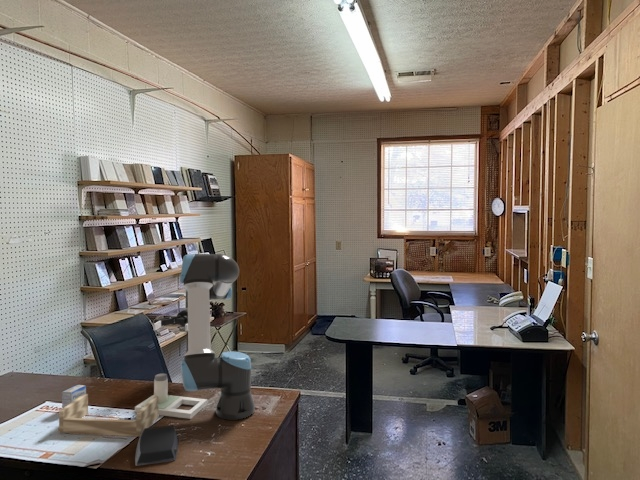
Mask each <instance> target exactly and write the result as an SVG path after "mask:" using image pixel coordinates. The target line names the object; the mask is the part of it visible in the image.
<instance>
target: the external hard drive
mask: <svg viewBox="0 0 640 480" xmlns="http://www.w3.org/2000/svg"><path fill="white" fill-rule="evenodd" d="M177 433H178V432H177V430H176V428H175V426H174V425H166V426H156V427H155V426H153V427H149V428H144V429H143V431H142V433H141V435H140V436H139V439H138V442H137V444H136V448H135V455H134V463H135V466H137V467H139V466H146V465H151V464H153V465H155V464H159V463H167V462H168V463H169V462H174V461H176V460H177V456H178V452H179V451H178V449H179V440H178V439H179V438H178V434H177Z"/></svg>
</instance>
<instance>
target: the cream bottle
mask: <svg viewBox="0 0 640 480" xmlns="http://www.w3.org/2000/svg"><path fill="white" fill-rule="evenodd" d="M168 380H169V378H168V374H167V373H158V374H155V375H154V380H153V395H154V396H158V404H161V403H165V402H167V401H168V395H169V393H168V392H169V388H168V387H169V384H168V382H169V381H168Z"/></svg>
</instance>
